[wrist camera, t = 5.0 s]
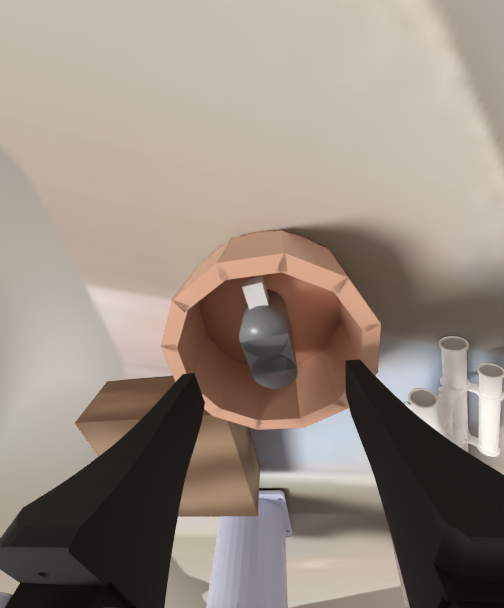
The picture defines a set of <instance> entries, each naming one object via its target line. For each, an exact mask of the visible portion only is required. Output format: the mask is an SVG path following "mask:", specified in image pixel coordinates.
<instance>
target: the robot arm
mask: <svg viewBox="0 0 504 608" xmlns="http://www.w3.org/2000/svg"><path fill="white" fill-rule="evenodd" d="M345 373H346V396H347V400H348V404H349V408H350V412H351V415H352V418H353V421H354V423H355V426H356V429H357V431H358V434H359V436H360V439H361V442H362V444H363V447H364V449H365V452H366V455H367V457H368V460H369V462H370V465H371V468H372V471H373V474H374V477H375V480H376V483H377V487H378V490H379V494H380V497H381V501H382V504H383V508H384V511H385V515H386V518H387V522H388V526H389V529H390V533H391V537H392V540H393V544H394V548H395V552H396V555H397V559H398V563H399V567H400V571H401V575H402V578H403V582H404V586H405V590H406V594H407V598H408V602H409V606H410V608H504V475H503V474H501V473H500V472H498V471H496V470H495V469H493V468H491V467H490V466H488V465H486V464H485V463H483V462H482V461H480V460H478V459H477V458H475V457H474V456H472V455H471V454H469V453H468V452H466V451H465V450H463V449H462V448H460V447H459V446H457V445H456V444H454V443H453V442H451V441H450V440H449V439H447V438H446V437H445V436H443V435H442V434H440V433H439V432H438V431H436V430H435V429H434V428H432V427H431V426H430V425H429V424H427V423H426V422H425V421H424V420H422V419H421V418H420V417H419V416H417V415H416V414H415V413H414V412H413V411H411V410H410V409H409V408H408V407H407V406H406V405H405V404H404V403H402V402H401V401H400V400H399V399H398V398H397V397H396V396H395V395H394V394H393V393H392V392H391V391H390V390H389V389H388V388H387V387H386V386H384V384H383V383H382V382H381V381H380V380H379V379H378V378H377V377H376V376H375V375H374V374H373V373H372V372H371V371H370V370H369V369H368V368H367V366H366V365H365V364H364V363H363V362H362V361H361V360H360V359H357V360H345ZM204 406H205V401H204V398H203V396H202V393H201V390H200V387H199V384H198V382H197V379H196V376H195V373H189V374H182V376H181V377H180V378H179V379H178V380H177V381H176V382H175V383H174V384H173V385H172V387H171V388H170V389H169V390H168V391H167V392H166V393H165V394H164V396H163V397H162V398H161V399H160V400H159V401H158V402H157V403H156V404H155V405H154V407H153V408H152V409H151V410H150V411H149V412H148V413H147V414H146V415H145V416H144V417H143V418H142V419H141V420H140V421H139V422H138V423H137V424H136V425H135V426H134V427H133V428H132V429H131V430H130V431H129V432H127V433H126V434H125V435H124V436H123V437H122V438H121V439H120V440H118V441H117V442H116V443H115V444H114V445H113V446H111V447H110V448H109V449H108V450H106V451H105V452H104V453H103V454H101V455H100V456H99V457H98V458H96V459H95V460H94V461H92V462H91V463H90V464H89V465H87V466H86V467H84V468H83V469H82V470H80V471H79V472H78V473H76V474H75V475H73V476H72V477H70V478H69V479H68V480H66V481H65V482H63V483H62V484H60V485H59V486H57V487H56V488H54V489H53V490H51V491H49V492H48V493H46V494H44V495H43V496H41V497H40V498H38V499H37V500H35V501H33V502H32V503H30V504H28V505H27V506H25V507H23V509H22V510H21V511H20V512H19V514H18V515H17V517H16V518H15V519H14V521H13V522H12V523H11V525H10V526H9V527H8V529H7V530H6V532H5V533H4V534H3V536H2V537H1V538H0V569H1V570H2V571H4V572H5V573H6V574H8V575H9V576H11V577H12V578H14V579H15V580H17V581H18V582H20V584H19V586H18V588H17V589H16V591H15V593H14V594H13V595H11V594H8V593H3V592H0V608H164V605H165V596H166V589H167V582H168V574H169V567H170V559H171V553H172V547H173V541H174V535H175V529H176V523H177V518H178V512H179V507H180V502H181V497H182V492H183V487H184V482H185V478H186V474H187V470H188V467H189V464H190V460H191V457H192V454H193V450H194V447H195V444H196V440H197V437H198V434H199V430H200V427H201V423H202V418H203V412H204ZM291 536H292V528H291V523H290V518H289V513H288V508H287V503H286V499H285V494H284V492H283V491H280V490H271V491H259V503H258V516H220V521H219V528H218V534H217V541H216V547H215V554H214V560H213V567H212V574H211V580H210V588H209V593H208V600H207V607H206V608H288V603H287V573H286V543H285V537H291Z"/></svg>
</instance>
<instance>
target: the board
mask: <svg viewBox="0 0 504 608" xmlns="http://www.w3.org/2000/svg"><path fill="white" fill-rule="evenodd" d="M174 383H175V380H174V377H173V376H169V377H157V378H145V379H133V380H121V381H109V382H107V383H106V384H105V385H104V386H103V388H102V389H101V390H100V391H99V393H98V394H97V395H96V397H95V398H94V399H93V400H92V402H91V403H90V404H89V406H88V407H87V408H86V409H85V411H84V412H83V413H82V415H81V416H80V417H79V418H78V420H77V421H76V422H75V424H76V425H77V427H78V428H79V430H80V431H81V432H82V434H83V435H84V437H85V438H86V439H87V441H88V442H89V444H90V445H91V446H92V448H93V449H94V451H95V452H96V453H97V455H98V456H100V455H101V454H103V453H104V452H105V451H106V450H108V449H109V448H110V447H111V446H113V445H114V444H115V443H116V442H117V441H118V440H120V439H121V438H122V437H123V436H124V435H125V434H126V433H127V432H129V431H130V430H131V429H132V428H133V427H134V426H135V425H136V424H137V423H138V422H139V421H140V420H141V419H142V418H143V417H144V416H145V415H146V414H147V413H148V412H149V411H150V410H151V409H152V408H153V407H154V405H155V404H156V403H157V402H158V401H159V400H160V399H161V398H162V397H163V396H164V394H165V393H166V392H167V391H168V390H169V389H170V388H171V387H172V385H173V384H174ZM259 480H260V467H259V464H258V460H257V456H256V452H255V448H254V445H253V441H252V437H251V433H250V430H249V427H247V426H244V425H240V424H237V423H234V422H231V421H227V420H224V419H221V418H218V417H214V416H212V415H211V414H210V413H208V412H207V411H206V410H205V409H204V412H203V418H202V423H201V427H200V430H199V434H198V437H197V440H196V444H195V447H194V450H193V454H192V457H191V460H190V464H189V467H188V470H187V474H186V478H185V482H184V487H183V492H182V497H181V502H180V507H179V512H178V516H258V503H259Z"/></svg>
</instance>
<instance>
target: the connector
mask: <svg viewBox="0 0 504 608" xmlns="http://www.w3.org/2000/svg"><path fill="white" fill-rule="evenodd" d="M242 289H243V292H244V295H245V298H246V304H245V309H244V314H243V319H242V324H241V329H240V334H239V340H240V343H241V346H242V349H243V351H244V354H245V357H246V360H247V362H248V365H249V368H250V370H251V373H252V376H253V378H254V379H255V381H256V382H257V383H258V384H260V385H262V386H264V387H266V388H271V389H279V388H284V387H286V386H288V385H290V384H291V383H293V382H294V380H295V379H296V377H297V363H296V355H295V346H294V338H293V332H292V328H291V324H290V321H289V317H288V313H287V309H286V305H285V301H284V299H283V298H282V296H281V295H280V294H278V293H277V292H275V291H273V290H269V289H266V287H265V283H264V279H263V276H261V277H257V278H253V279H248V280H244V281H243V285H242Z"/></svg>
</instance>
